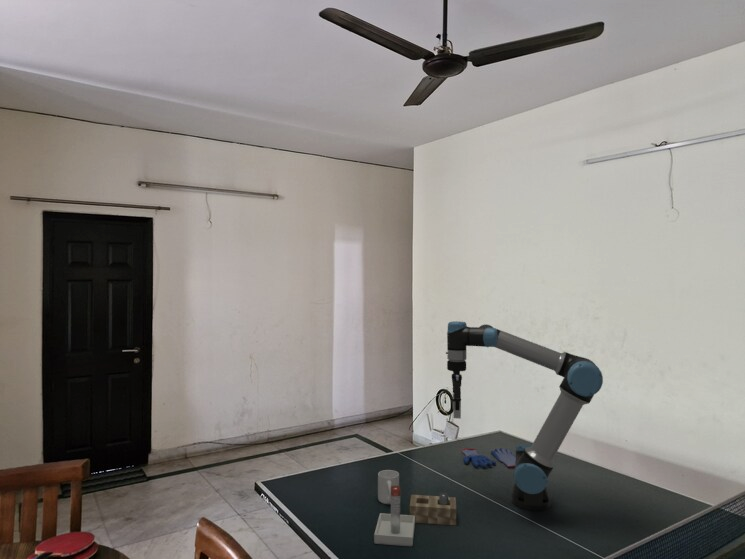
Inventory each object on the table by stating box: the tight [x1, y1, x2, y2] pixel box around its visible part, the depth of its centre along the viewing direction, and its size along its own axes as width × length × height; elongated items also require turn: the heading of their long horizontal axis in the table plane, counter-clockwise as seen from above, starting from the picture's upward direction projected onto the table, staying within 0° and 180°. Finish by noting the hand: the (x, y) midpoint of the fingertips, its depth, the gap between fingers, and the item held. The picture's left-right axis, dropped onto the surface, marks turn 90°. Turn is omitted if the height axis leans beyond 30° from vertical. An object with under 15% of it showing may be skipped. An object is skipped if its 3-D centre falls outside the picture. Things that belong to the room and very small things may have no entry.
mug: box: [377, 469, 400, 505], centre depth 200 cm, size 9×12×11 cm
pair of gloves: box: [461, 447, 516, 470], centre depth 249 cm, size 32×26×4 cm
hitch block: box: [409, 494, 457, 526], centre depth 187 cm, size 17×10×6 cm, turn 82°
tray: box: [373, 512, 416, 547], centre depth 174 cm, size 13×16×3 cm
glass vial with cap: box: [390, 485, 401, 534], centre depth 175 cm, size 3×3×16 cm
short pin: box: [438, 492, 449, 505], centre depth 186 cm, size 3×3×9 cm
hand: (456, 413), depth 197 cm, fingers open, 13 cm apart
